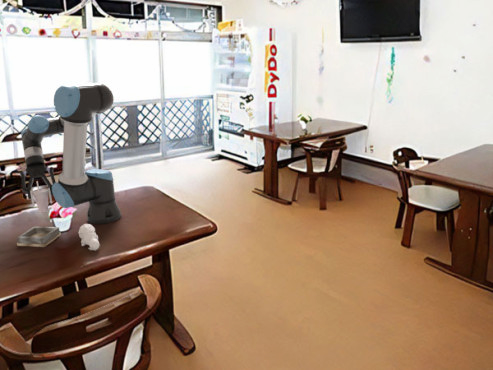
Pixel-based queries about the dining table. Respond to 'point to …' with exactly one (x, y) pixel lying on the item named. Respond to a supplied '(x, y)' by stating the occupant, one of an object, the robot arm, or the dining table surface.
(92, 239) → the white lumpy figurine
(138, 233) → the dining table surface
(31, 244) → the pocket plate
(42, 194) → the smoothie
